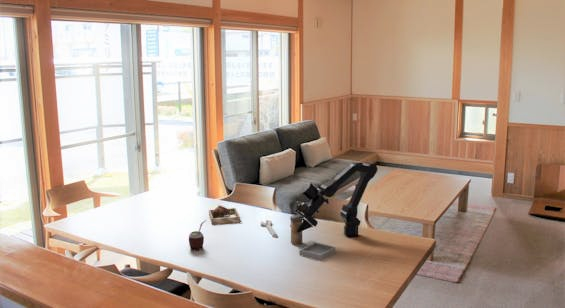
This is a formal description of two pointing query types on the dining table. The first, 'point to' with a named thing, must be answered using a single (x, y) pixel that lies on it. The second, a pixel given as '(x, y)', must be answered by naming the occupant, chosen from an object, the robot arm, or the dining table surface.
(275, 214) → the dining table surface
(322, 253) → the tray
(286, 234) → the dining table surface
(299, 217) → the walnut canister
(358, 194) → the robot arm
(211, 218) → the tray
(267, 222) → the adjustable wrench
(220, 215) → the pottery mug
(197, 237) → the mate gourd
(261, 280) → the dining table surface
